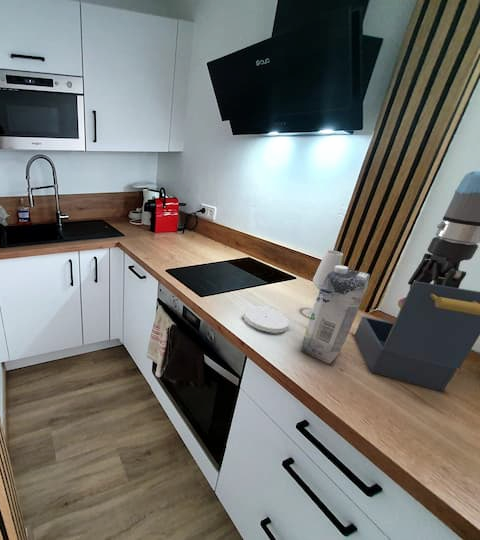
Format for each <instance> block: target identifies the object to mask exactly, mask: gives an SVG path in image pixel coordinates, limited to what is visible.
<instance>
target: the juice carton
mask: <svg viewBox="0 0 480 540" xmlns="http://www.w3.org/2000/svg"><path fill="white" fill-rule="evenodd" d="M370 276H371V274H370V273H367V272H364V271H360V270H356V269H352V268H349V267H348V266H346V265H342V264H341V265H340V266H339V265H337V266H335V268H334V269H333V271H332V272H330V273H329V274H328V275H327V277H326V278H325V280H324V282H323V284H322V286H321V289H320V292H319V291H318V292H319V295H318V294H317V295H318V298H317V300H316V299H315V300H316V303H315V302H314V303H315V306H314V305H313V306H314V309H313V308H312V309H313V312H312V315H311V318H310V317H309V321H308V323H307V326H306V328H305V332H304V335H303V339H302V345H301V351H302V353H304V354H306V355H308V356H310V357H313V358H316V359H317V360H319V361H322V362H324V363H326V364H332V362H333V361H334V360H335V359H336V357H338V355H339V353H340V352H341V350H342V348H343V346H344V345H345V342H346V341H347V337H348V335H349V333H350V331H351V328H352V326H353V324H354V321H355V319H356V316H357V314H358V311H359V309H360V307H361V304H362V302H363V300H364V298H365V295H366V293H367V289H368V286H369V282H370Z"/></svg>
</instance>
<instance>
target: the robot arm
mask: <svg viewBox="0 0 480 540" xmlns="http://www.w3.org/2000/svg"><path fill="white" fill-rule="evenodd" d="M443 215H444V216H442V217H443V218H442V219H441V220H440V223H438V224H437V225H436V228H437V229H436V231H435V233H434V234H435V236H434V237H433V238H431V240H430V243H429V245H428V247H427V252H428V253H426V252H425V253H424V254H423V256H422V259H421V261H420V263H419V264H418V265H417V268H416V269H415V271H414V272H413V273H412V275H411V277H410V279H409V280H408V282H407V285H409V289H410V288H411V286H412V284H413V281H417V282H423V283H430V284H436V285H442V286H448V287H454V288H460V286H461V283H462V281H463V280H464V279H465V277H466V275H467V271H465V270H464V271H463V270H460V265H461V262H463V261H470V260H472V259H473V257H474V256H475V254H476V252H477V250H478V248H479V245H478V244H480V170H478V171H477V170H475V171H470V172H468V173H466V174H465V175H464V176H463V178H462V179H461V180H460V183H459V185H458V186H457V188H456V189H455V190H454V194H453V196H452V198H451V200H450V202H449V204H448V207H447V209H446V211H445V213H444V214H443ZM432 282H433V283H432Z"/></svg>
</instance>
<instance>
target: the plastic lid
mask: <svg viewBox="0 0 480 540" xmlns="http://www.w3.org/2000/svg"><path fill="white" fill-rule="evenodd" d="M243 319H244V321H245V322H246V323H247V324H248V325H250V326H251V327H253V328H255V329H257V330H259V331H263V332H266V333H274V334H275V333H276V334H280V333H284V332H286V331H287V330H288V328H289V325H290V320H289V319H288V317H287V316H286V315H284V313H281V312H280V311H278V310H276V309H273V308H270V307H266V306H259V305H252V306H248V307H247V308H245V309H244V311H243Z"/></svg>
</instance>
